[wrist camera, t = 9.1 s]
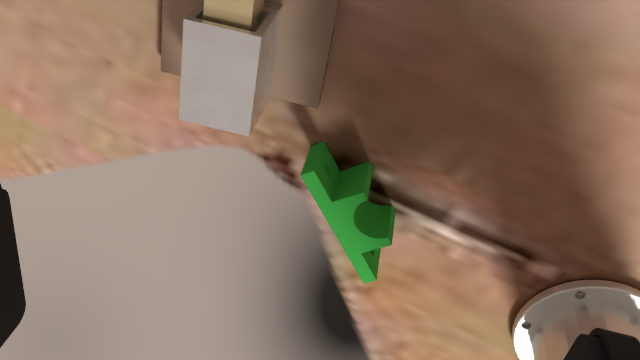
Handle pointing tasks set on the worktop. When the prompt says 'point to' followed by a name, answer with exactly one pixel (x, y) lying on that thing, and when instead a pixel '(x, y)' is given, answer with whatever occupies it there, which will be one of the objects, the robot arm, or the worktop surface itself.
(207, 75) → the sleeve
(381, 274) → the worktop surface
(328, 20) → the base board
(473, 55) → the worktop surface
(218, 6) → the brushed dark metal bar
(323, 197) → the pipe clamp
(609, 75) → the worktop surface
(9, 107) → the worktop surface
